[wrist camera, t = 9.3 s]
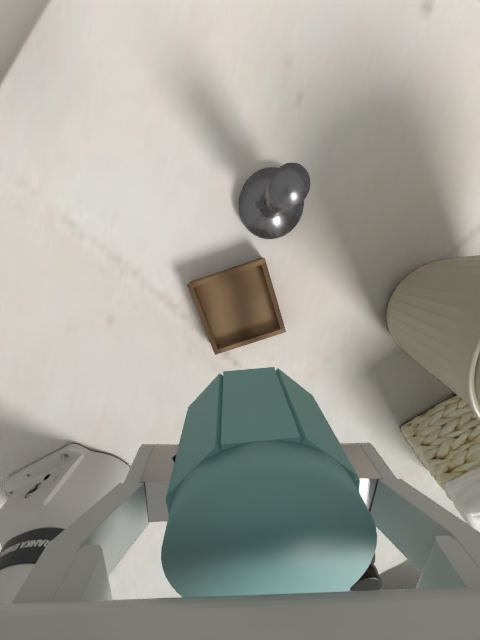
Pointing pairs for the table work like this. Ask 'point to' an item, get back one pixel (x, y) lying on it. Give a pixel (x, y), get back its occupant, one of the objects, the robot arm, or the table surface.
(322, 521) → the cap
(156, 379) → the table surface
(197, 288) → the walnut tray
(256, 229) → the post
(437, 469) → the storage basket
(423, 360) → the canister
